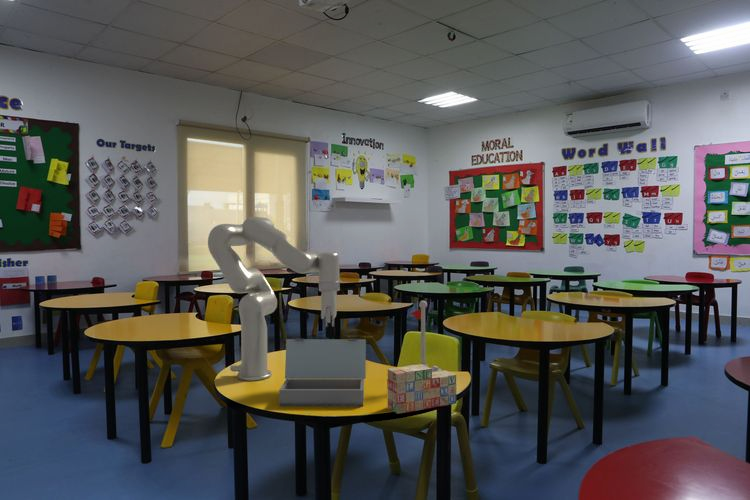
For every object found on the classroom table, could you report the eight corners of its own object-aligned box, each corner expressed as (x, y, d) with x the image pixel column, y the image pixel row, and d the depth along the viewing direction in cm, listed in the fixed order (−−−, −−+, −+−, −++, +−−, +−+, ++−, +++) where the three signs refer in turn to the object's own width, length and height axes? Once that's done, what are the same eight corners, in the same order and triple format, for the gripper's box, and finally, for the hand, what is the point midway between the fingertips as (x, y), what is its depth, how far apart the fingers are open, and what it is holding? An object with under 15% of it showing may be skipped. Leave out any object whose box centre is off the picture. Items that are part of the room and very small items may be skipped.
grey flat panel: (285, 338, 161) (286, 338, 163) (284, 379, 158) (285, 378, 160) (365, 338, 161) (365, 338, 163) (365, 379, 158) (365, 378, 160)
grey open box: (279, 406, 147) (279, 390, 147) (286, 393, 159) (286, 379, 159) (363, 406, 147) (363, 390, 147) (364, 394, 159) (364, 379, 159)
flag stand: (447, 382, 173) (447, 299, 173) (431, 391, 162) (431, 303, 162) (415, 376, 180) (415, 297, 180) (398, 385, 170) (398, 301, 169)
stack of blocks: (445, 398, 156) (445, 360, 156) (456, 404, 150) (456, 365, 150) (387, 407, 147) (387, 367, 146) (396, 414, 141) (396, 373, 141)
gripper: (321, 285, 179) (322, 333, 180) (316, 288, 164) (317, 341, 165) (341, 284, 179) (342, 333, 180) (338, 288, 164) (339, 341, 165)
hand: (330, 337), depth 172 cm, fingers closed
